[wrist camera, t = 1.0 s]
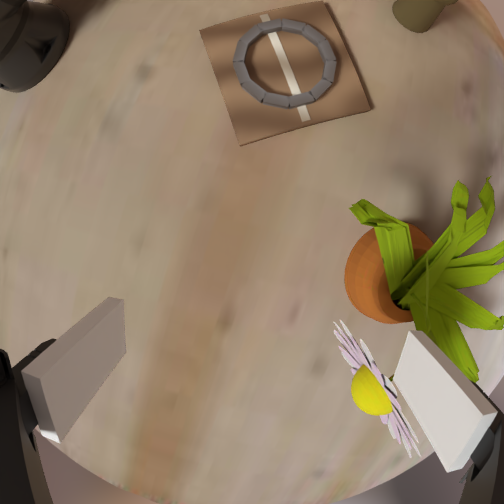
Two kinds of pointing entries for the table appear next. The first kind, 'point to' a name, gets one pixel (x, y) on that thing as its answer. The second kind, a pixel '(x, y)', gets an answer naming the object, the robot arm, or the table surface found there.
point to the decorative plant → (417, 293)
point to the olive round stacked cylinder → (419, 13)
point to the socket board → (283, 71)
